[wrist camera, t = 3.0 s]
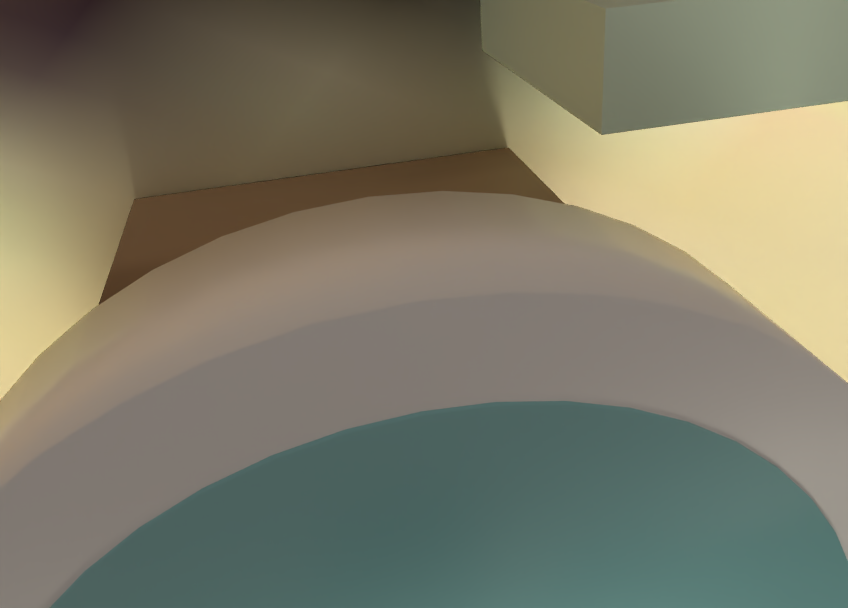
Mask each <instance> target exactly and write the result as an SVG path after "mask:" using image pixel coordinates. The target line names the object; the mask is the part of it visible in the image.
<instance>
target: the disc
mask: <svg viewBox="0 0 848 608" xmlns="http://www.w3.org/2000/svg"><path fill="white" fill-rule="evenodd" d="M0 608H848V383H847V382H846V381H845V380H843V379H842V378H841V377H840V376H839V375H837V374H836V373H835V372H834V371H833V370H831V369H830V368H829V367H828V366H827V365H825V364H824V363H823V362H822V361H820V360H819V359H818V358H817V357H816V356H814V355H813V354H812V353H811V352H810V351H808V350H807V349H806V348H805V347H804V346H802V345H801V344H800V343H799V342H797V341H796V340H795V339H794V338H793V337H791V336H790V335H789V334H788V333H787V332H785V331H784V330H783V329H782V328H780V327H779V326H778V325H777V324H776V323H774V322H773V321H772V320H771V319H770V318H768V317H767V316H766V315H765V314H764V313H762V312H761V311H760V310H759V309H757V308H756V307H755V306H754V305H753V304H751V303H750V302H749V301H748V300H747V299H745V298H744V297H743V296H742V295H741V294H739V293H738V292H737V291H736V290H734V289H733V288H732V287H731V286H730V285H728V284H727V283H726V282H725V281H723V280H722V279H721V278H719V277H718V276H717V275H715V274H714V273H713V272H711V271H710V270H709V269H707V268H706V267H705V266H703V265H702V264H701V263H699V262H698V261H697V260H695V259H694V258H693V257H691V256H690V255H689V254H687V253H686V252H684V251H683V250H681V249H679V248H677V247H675V246H673V245H671V244H669V243H667V242H665V241H663V240H661V239H659V238H658V237H656V236H654V235H652V234H650V233H648V232H646V231H644V230H642V229H640V228H638V227H636V226H634V225H631V224H628V223H625V222H622V221H619V220H616V219H613V218H610V217H607V216H605V215H602V214H599V213H596V212H593V211H590V210H587V209H584V208H581V207H578V206H573V205H568V204H562V203H557V202H551V201H546V200H541V199H535V198H530V197H524V196H519V195H514V194H496V193H476V192H456V191H434V192H421V193H408V194H396V195H383V196H370V197H365V198H360V199H355V200H350V201H345V202H340V203H335V204H330V205H326V206H321V207H316V208H311V209H306V210H301V211H296V212H293V213H290V214H287V215H284V216H281V217H278V218H275V219H272V220H269V221H266V222H263V223H260V224H257V225H254V226H251V227H248V228H245V229H242V230H239V231H236V232H233V233H230V234H227V235H224V236H221V237H219V238H217V239H215V240H213V241H211V242H209V243H207V244H205V245H203V246H201V247H199V248H197V249H195V250H192V251H190V252H188V253H186V254H184V255H182V256H180V257H178V258H176V259H174V260H172V261H170V262H168V263H166V264H164V265H161V266H159V267H157V268H155V269H153V270H152V271H150V272H149V273H147V274H145V275H144V276H142V277H141V278H139V279H138V280H136V281H135V282H133V283H132V284H130V285H129V286H127V287H126V288H124V289H123V290H121V291H119V292H118V293H116V294H115V295H113V296H112V297H110V298H109V299H107V300H106V301H104V302H103V303H101V304H100V305H98V306H97V307H95V308H93V309H92V310H91V311H90V312H88V313H87V314H86V315H85V316H84V317H83V318H81V319H80V320H79V321H78V322H77V323H76V324H75V325H73V326H72V327H71V328H70V329H69V330H68V331H67V332H65V333H64V334H63V335H62V336H61V337H60V338H58V339H57V340H56V341H55V342H54V343H53V344H52V345H50V346H49V347H48V348H47V349H46V350H45V351H44V352H42V353H41V354H40V355H39V356H38V357H37V358H36V359H35V361H34V362H33V363H32V364H31V365H30V366H29V368H28V369H27V370H26V371H25V372H24V373H23V375H22V376H21V377H20V378H19V379H18V380H17V382H16V383H15V384H14V385H13V386H12V387H11V389H10V390H9V391H8V392H7V393H6V394H5V396H4V397H3V398H2V399H1V400H0Z"/></svg>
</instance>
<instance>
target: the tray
mask: <svg viewBox="0 0 848 608" xmlns="http://www.w3.org/2000/svg"><path fill="white" fill-rule="evenodd" d="M480 7H481V33H482V51H484V52H485V53H487V54H488V55H489V56H491V57H492V58H494V59H495V60H497V61H498V62H499V63H501V64H502V65H504V66H505V67H506V68H508V69H509V70H511V71H512V72H513V73H515V74H516V75H518V76H519V77H520V78H522V79H523V80H525V81H526V82H528V83H529V84H530V85H532V86H533V87H535V88H536V89H537V90H539V91H540V92H542V93H543V94H544V95H546V96H547V97H549V98H550V99H552V100H553V101H554V102H556V103H557V104H559V105H560V106H561V107H563V108H564V109H566V110H567V111H568V112H570V113H571V114H573V115H574V116H576V117H577V118H578V119H580V120H581V121H583V122H584V123H585V124H587V125H588V126H590V127H591V128H592V129H594V130H595V131H597V132H598V133H600V134H601V135H604V134H611V133H618V132H625V131H633V130H640V129H647V128H654V127H662V126H669V125H676V124H683V123H691V122H698V121H705V120H712V119H719V118H727V117H734V116H741V115H748V114H756V113H763V112H770V111H777V110H785V109H792V108H799V107H806V106H814V105H821V104H828V103H835V102H843V101H848V0H480Z"/></svg>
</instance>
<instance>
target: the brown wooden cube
mask: <svg viewBox="0 0 848 608" xmlns="http://www.w3.org/2000/svg"><path fill="white" fill-rule="evenodd" d="M434 191H456V192H476V193H496V194H514V195H519V196H524V197H530V198H535V199H541V200H546V201H551V202H557V203H562V204H564V203H563V202H562V201H561V200H560V199H559V198H558V197H557V196H556V195H555V194H554V193H553V192H552V191H551V190H550V189H549V188H548V187H547V186H546V185H545V184H544V183H543V182H542V181H541V180H540V179H539V178H538V177H537V176H536V175H535V174H534V173H533V172H532V171H531V170H530V169H529V168H528V167H527V166H526V165H525V164H524V163H523V162H522V161H521V160H520V159H519V158H518V157H517V156H516V155H515V154H514V153H513V152H512V151H511V150H510V148H502V149H495V150H487V151H480V152H473V153H466V154H458V155H451V156H444V157H437V158H429V159H422V160H415V161H408V162H401V163H393V164H386V165H379V166H372V167H364V168H357V169H350V170H343V171H335V172H328V173H321V174H314V175H306V176H299V177H292V178H285V179H277V180H270V181H263V182H256V183H248V184H241V185H234V186H227V187H220V188H212V189H205V190H198V191H191V192H183V193H176V194H169V195H162V196H154V197H147V198H140V199H134V202H133V205H132V208H131V211H130V214H129V217H128V220H127V223H126V225H125V228H124V231H123V234H122V237H121V240H120V243H119V246H118V249H117V252H116V255H115V258H114V261H113V264H112V267H111V270H110V273H109V276H108V279H107V282H106V284H105V287H104V290H103V293H102V296H101V299H100V302H99V305H100V304H101V303H103V302H104V301H106V300H107V299H109V298H110V297H112V296H113V295H115V294H116V293H118V292H119V291H121V290H123V289H124V288H126V287H127V286H129V285H130V284H132V283H133V282H135V281H136V280H138V279H139V278H141V277H142V276H144V275H145V274H147V273H149V272H150V271H152V270H153V269H155V268H157V267H159V266H161V265H164V264H166V263H168V262H170V261H172V260H174V259H176V258H178V257H180V256H182V255H184V254H186V253H188V252H190V251H192V250H195V249H197V248H199V247H201V246H203V245H205V244H207V243H209V242H211V241H213V240H215V239H217V238H219V237H221V236H224V235H227V234H230V233H233V232H236V231H239V230H242V229H245V228H248V227H251V226H254V225H257V224H260V223H263V222H266V221H269V220H272V219H275V218H278V217H281V216H284V215H287V214H290V213H293V212H296V211H301V210H306V209H311V208H316V207H321V206H326V205H330V204H335V203H340V202H345V201H350V200H355V199H360V198H365V197H370V196H383V195H396V194H408V193H421V192H434Z"/></svg>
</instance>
